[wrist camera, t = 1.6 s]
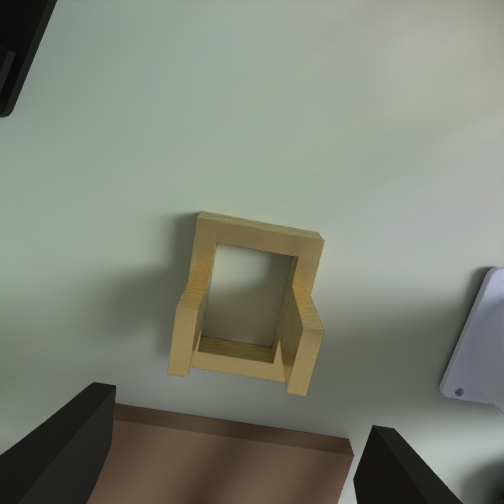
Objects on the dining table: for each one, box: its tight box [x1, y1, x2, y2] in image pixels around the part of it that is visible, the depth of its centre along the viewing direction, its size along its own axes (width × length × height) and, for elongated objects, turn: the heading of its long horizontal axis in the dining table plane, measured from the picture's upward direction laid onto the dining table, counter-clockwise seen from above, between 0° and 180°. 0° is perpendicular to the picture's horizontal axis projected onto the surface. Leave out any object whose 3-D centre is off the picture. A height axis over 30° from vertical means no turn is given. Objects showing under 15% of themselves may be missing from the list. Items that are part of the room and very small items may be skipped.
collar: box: [167, 212, 324, 396], centre depth 16 cm, size 6×8×6 cm
